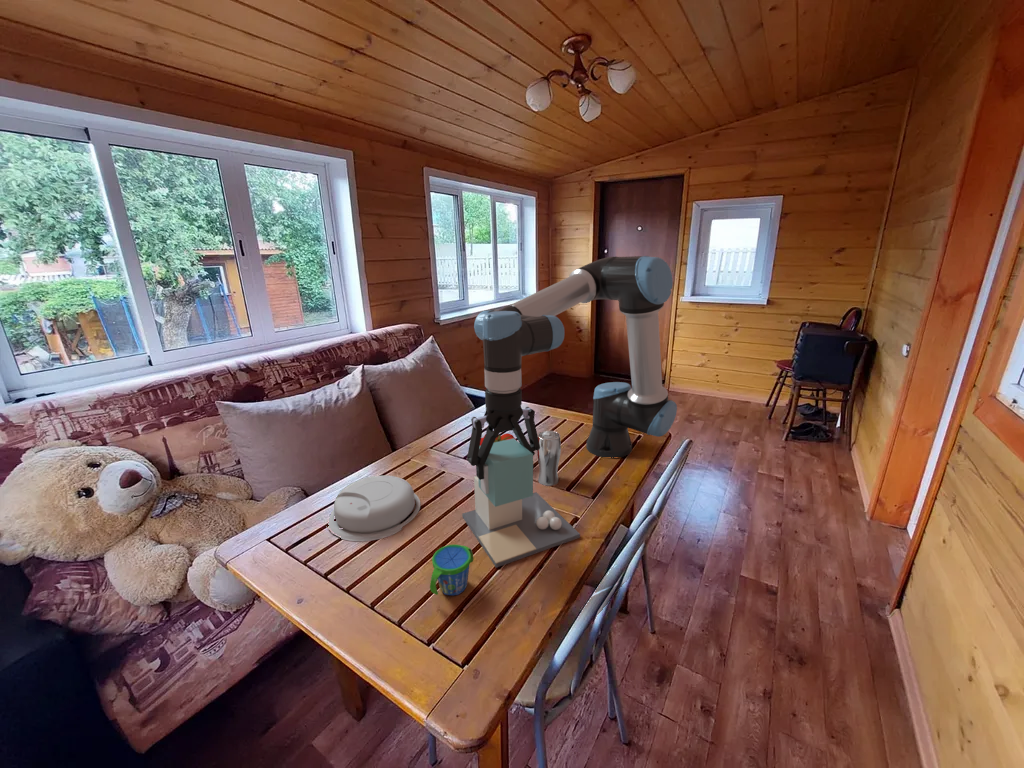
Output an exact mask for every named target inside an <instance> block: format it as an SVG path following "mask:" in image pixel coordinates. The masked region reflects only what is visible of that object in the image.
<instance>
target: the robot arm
mask: <svg viewBox="0 0 1024 768" xmlns="http://www.w3.org/2000/svg"><path fill="white" fill-rule="evenodd" d="M672 289H673V274H672V271H671V267H670V265H669V264H668V263H667V262H666V261H665V260H664V259H663V258H661V257H659V256H658V257H657V256H649V255H642V256H639V255H638V256H635V255H634V256H609V257H604V258H601V259H596V260H594V261H592V262H589V263H587V264H586V265H582V266H581V267H579V268H576V269H574V270H573V271H571V272H570V274H569V276H568V277H565V279H564V278H563V279H562V280H560V281H558V282H555V283H553V284H551V285H550V286H548V287H544V288H543V289H541V290H539V291H537V292H534V293H533V294H531V295H528V296H526V297H524V298H522V299H520V300H517V301H516V302H514V303H512V304H510V305H506V306H505V307H503V308H501V309H498V310H494V309H490V310H484V311H481V312H480V313H479V314H478V315H476V317H475V320H474V325H473V328H474V332H475V335H476V337H477V338H479V340H481V341H482V345H483V346H482V347H483V362H484V363H483V364H484V365H483V366H484V368H483V369H484V370H483V372H484V387H485V388H486V389H485V390H484V399H485V401H484V402H485V412H484V415H482V416H480V417H476V416H472V417H471V427H472V430H471V435H470V439H469V440H470V441H469V446H468V451H467V456H466V461H467V462H468V463H469V464H470V465H471V466H472V467H475V471H476V473H475V474H476V476H477V477H478V478H479V479H480V480H481V489H482V490H483V492H484V493H485V494H489V481H488V465H487V464H486V463H485V462H486V460H487V457H488V455H489V453H490V451H491V448H492V446H493V444H494V441H495V439H496V438H497V437H498V436H499V435H500V433H504V432H506V431H507V432H510V431H512V432H513V435H515V437H516V440H517V441H518V442H519V443H520V444H521V445H522V446H523V447H525V448H526V449H528V450H529V451H530V452H531V453H532V454H533V457H534V456H535V454H536V453H535V451H536V452H537V451H538V450H539V449H540V444H539V440H538V432H537V426H536V422H535V414H536V411H535V410H534V409H533V408H531V407H529V406H525V408H522V404H523V403H522V401H523V400H522V396H523V395H522V389H521V387H522V385H523V384H522V357H525V356H530V355H534V354H539V353H543V352H549V351H552V350H554V349H558V348H560V346H561V345H562V344H563V342H564V339H565V326H564V324H563V322H562V321H561V319H560V318H559V317H558V316H557V315H559V314H561V313H564V312H565V311H567V310H569V309H571V308H573V307H575V306H576V305H578V304H588V303H591V302H592V301H595V300H610V301H618V307H619V309H618V310H619V312H620V313H621V314H623V315H624V317H625V322H626V333H627V345H628V356H629V358H628V359H629V368H630V370H629V371H630V378H631V379H630V380H631V384H630V383H628V382H624V381H623V382H622V381H621V382H620V381H613V382H605V383H601V384H598V385H597V386H596V387H595V388H594V392H593V397H592V399H593V403H592V404H593V406H592V427H591V430H590V432H589V436H588V438H587V440H586V445H585V446H586V450H587V451H588V452H589V453H590V454H592V455H594V456H596V457H599V456H600V457H599V458H603V457H611V458H610V459H615V458H614V457H621V458H624V456H625V457H627V456H629V455H630V454H631V453H632V452H633V451H632V450H633V443H632V441H631V436H630V433H629V429H630V430H631V429H632V430H634V431H637V432H639V433H643V434H646V435H648V436H653V437H662V436H665V435H666V434H667V433H668V432H669V431H670V429H671V427H672V426H673V424H674V422H675V420H676V416H677V411H678V406H677V403H676V402H675V401H673V400H671V399H669V393H668V389H667V388H666V387H664V386H663V377H662V376H663V375H662V359H661V358H662V355H661V340H660V336H661V335H660V319H659V312H660V311H661V310H662V309H663V308H664V305H665V303H666V302H667V301H668V300H669V298H670V296H671V294H672V291H671V290H672ZM521 418H523V419H524V424H525V428H526V434H527V438H528V439H527V438H526V436H525V434H524V432H523V430H522V427H521V425H520V424H519V421H520V420H521ZM485 423H487V424H488V425H487V427H486V431H485V434H486V435H485V434H484V436H485V437H484V436H483V435H482V434H483V429H484V427H485ZM482 436H483V437H484V439H483V442H482V444H481V446H480V442H481V438H483V437H482ZM479 447H480V449H479ZM630 452H631V453H630ZM628 454H629V455H628ZM626 455H627V456H626ZM612 457H613V458H612Z"/></svg>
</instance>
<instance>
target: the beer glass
mask: <svg viewBox="0 0 1024 768" xmlns="http://www.w3.org/2000/svg"><path fill="white" fill-rule="evenodd" d="M537 435H538V440H539V444H540V449H539V450H538V451H537V450H536V457H537V461H538V468H539V473H538V478H537V482H538V483H539V484H540V485H543V486H547V487H548V486H549V487H551V486H554V485H555V486H556V485H557V484H558V483H559V481H560V480H559V475H558V468H559V464H560V460H561V459H560V458H561V454H562V453H561V451H562V450H561V449H562V447H561V446H562V444H561V434H560V433H559V432H558V431H554V430H541V431H539V432H537Z"/></svg>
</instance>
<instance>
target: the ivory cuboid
mask: <svg viewBox="0 0 1024 768" xmlns="http://www.w3.org/2000/svg"><path fill="white" fill-rule="evenodd" d="M473 484H474V506H475V509H474V510H475V511H476V512H477V514H478V515H479V516H480V518H481V519H482V520H483V522H484V523H485V525H486V526H487V527H488V529H489V530H491V529H494V528H497V527H500V526H503V525H506V524H510V523H513V522H516V521H519V520H522V499H520V500H517V501H513V502H510V503H507V504H503V505H500V506H496V507H495V506H494V505H493V503H492V502H491V501H490V500H489V499H488V497H487V496H486V495H485V494H484V493H483V491H482V490H481V489H480V488H479V481H478V477H477V475H476V476H475V475H474V476H473Z"/></svg>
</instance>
